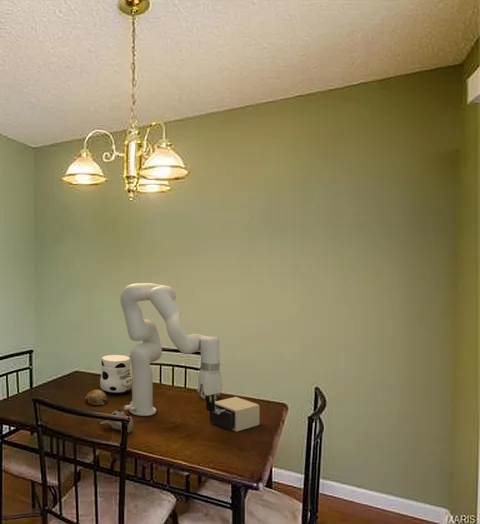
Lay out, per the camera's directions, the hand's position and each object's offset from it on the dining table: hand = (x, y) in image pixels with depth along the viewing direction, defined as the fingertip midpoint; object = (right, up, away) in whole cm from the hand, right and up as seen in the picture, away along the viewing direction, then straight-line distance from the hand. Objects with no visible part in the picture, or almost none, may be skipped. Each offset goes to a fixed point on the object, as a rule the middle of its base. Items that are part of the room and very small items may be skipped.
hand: (210, 410), depth 177 cm
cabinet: (+13, -8, +8) cm, 18 cm away
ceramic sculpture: (-38, -9, +2) cm, 39 cm away
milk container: (-35, -9, +54) cm, 65 cm away
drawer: (+9, -7, +5) cm, 13 cm away
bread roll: (-46, -9, +36) cm, 59 cm away
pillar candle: (+12, -8, +42) cm, 45 cm away
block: (+10, -6, +6) cm, 13 cm away
